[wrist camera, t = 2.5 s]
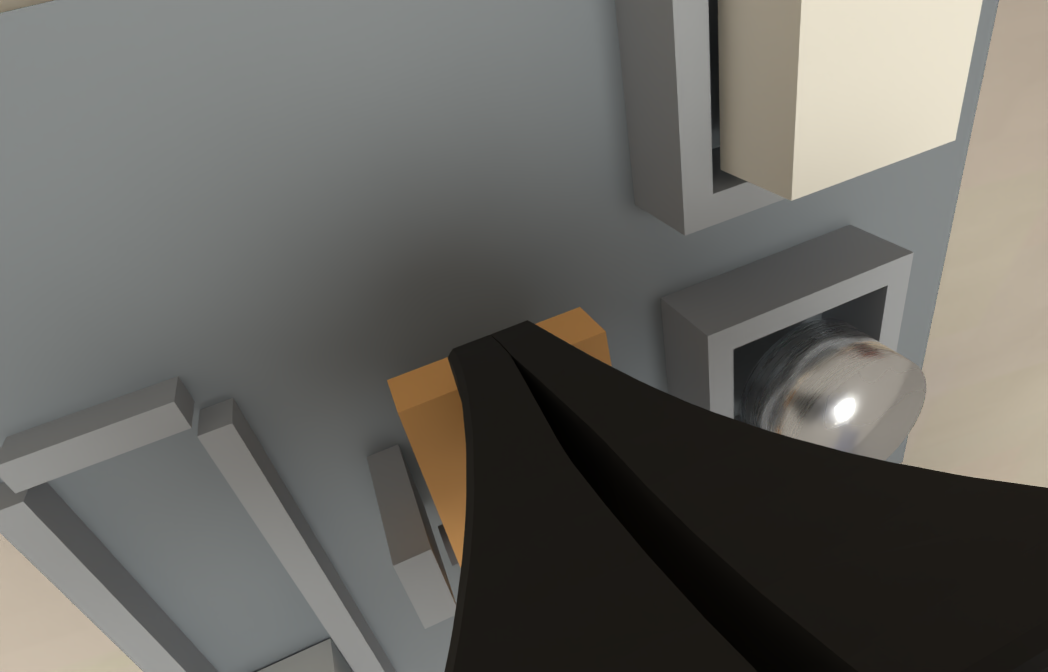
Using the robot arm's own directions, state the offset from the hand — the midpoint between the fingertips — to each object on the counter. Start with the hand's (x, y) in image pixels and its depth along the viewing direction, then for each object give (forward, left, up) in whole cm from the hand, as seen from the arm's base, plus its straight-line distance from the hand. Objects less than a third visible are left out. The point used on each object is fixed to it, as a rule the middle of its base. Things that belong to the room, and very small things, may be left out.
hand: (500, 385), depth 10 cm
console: (-3, -2, -5) cm, 6 cm away
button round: (-4, -7, -1) cm, 8 cm away
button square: (+3, -7, -1) cm, 8 cm away
